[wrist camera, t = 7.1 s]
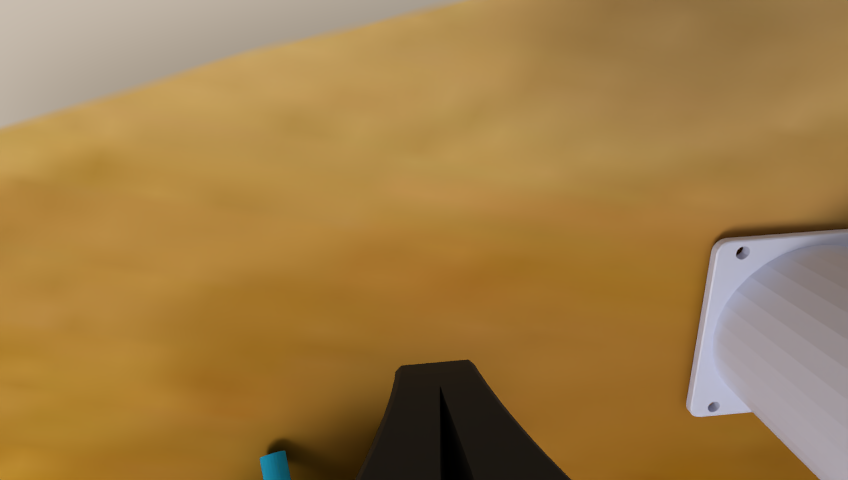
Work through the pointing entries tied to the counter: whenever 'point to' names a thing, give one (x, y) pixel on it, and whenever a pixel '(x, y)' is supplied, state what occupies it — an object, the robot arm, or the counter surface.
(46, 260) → the counter surface
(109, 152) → the counter surface
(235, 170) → the counter surface
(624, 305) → the counter surface
